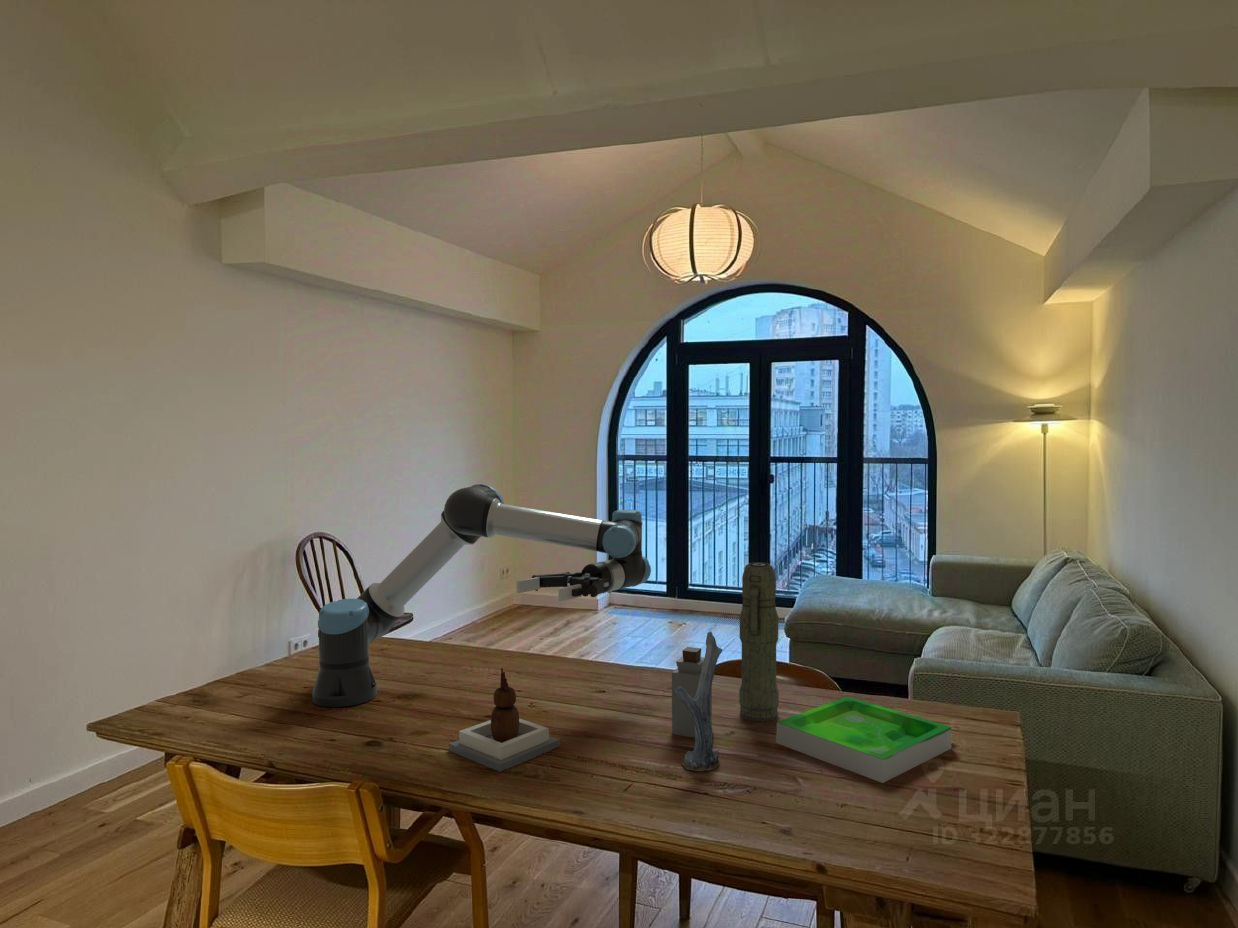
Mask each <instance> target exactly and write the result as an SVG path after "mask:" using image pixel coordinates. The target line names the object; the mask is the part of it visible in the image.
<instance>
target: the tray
mask: <svg viewBox="0 0 1238 928" xmlns="http://www.w3.org/2000/svg"><path fill="white" fill-rule="evenodd" d="M776 744H778V745H781V746H784V747H786V748H788V749H791V750H794V751H797V752H800V753H802V754H805V755H807V756H810V757H812V758H814V759H815V758H816V759H818V760H821V761H822V762H826V763H827V764H831V765H834V766H836V767H839V768H841V769H843V770H846V771H849V772H852V773H855V774H858V775H860V776H863V777H865V778H868V779H870V780H874V781H875V782H879V783H882V784H883V783H886V782H889V780H892V779H894V778H896V777H898V776H900V775H901V774H904V773H906V772H907V771H909V770H911V769H914V768H916V767H918V766H920V765H921V764H924V763H926V762H928V761H930V760H931V759H933V758H935V757H937V756H939V755H941V754H943V753H945V752H947V751H950V750H951V749H952V726H950V725H946V724H943V723H939V722H935V721H933V720H928V719H926V718H922V717H919V716H915V715H911V714H908V713H905V712H901V711H899V710H895V709H891V708H888V707H885V706H881V705H878V704H874V703H871V702H869V701H868V702H867V701H863V700H861V699H858V698H854V697H850V696H845V697H842V698H839V699H837V700H833V701H831V702H828V703H825V704H823V705H820V706H817V707H814V708H812V709H809V710H805V711H803V712H801V713H797V714H795V715H792V716H789V717H787V718H784V719H781V720H779V721H776Z"/></svg>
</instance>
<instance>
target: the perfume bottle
mask: <svg viewBox="0 0 1238 928" xmlns="http://www.w3.org/2000/svg"><path fill="white" fill-rule="evenodd" d="M681 652H682V656H681V657H680V658H678V659H677V660H676V661H675V663H676V667H677V668H676V669H675V670H673V671H671V734H672V735H675V736H676V735H677V736H681V737H689V738H694V739H695V731H694V724H693V722H692V719H691V716H690V715H689V712H688V710H687V707H686V705H685V703H683V701H682V700H680V699H679V698H678V696H677V695H676V693H675V689H676V688H677V687H679V686H681V687H683V688H684V690H685V691H686V692H687V693H688V695H689V696H690V697H692V698H694V697H695V695H696V692H697V688H698V683H699V679H700V675H701V670H702V666H703V662H704V658H705V656H704V657H703V656H702V647H701V648H700V647H691V646H687V647H685V648H683V649H682V651H681ZM712 688H713V686H711V691H710V708H709V709H710V715H711V716H710V722H711V728H712V727H713V726H712V725H713V724H712V723H713V722H712V721H713V718H712V714H713V713H712V711H713V709H712V707H713V706H712V705H713V698H712V696H713V695H712V693H713V691H712V690H713V689H712ZM712 729H713V728H712Z"/></svg>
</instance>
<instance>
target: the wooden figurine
mask: <svg viewBox="0 0 1238 928" xmlns="http://www.w3.org/2000/svg"><path fill="white" fill-rule="evenodd" d="M516 702H517V693H516V691H515V689H514V688H513V687H510V686H509V683H508V680H507V678H506V672H505V671H504V669H503V667H501V668H500V686H499V687H498V688H496V689H495V691H494V693H493V704H494V708H493V709H492V711H491V715H490V720H491V732H492V736H493V739H494V740H495V741H498V742H500V743H503V742H506V741H508V740H511V739H513V738H516V737H517V735H518V731H519V718H520V712H519V710H518V708H517V707H516V706H515V704H516Z"/></svg>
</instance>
